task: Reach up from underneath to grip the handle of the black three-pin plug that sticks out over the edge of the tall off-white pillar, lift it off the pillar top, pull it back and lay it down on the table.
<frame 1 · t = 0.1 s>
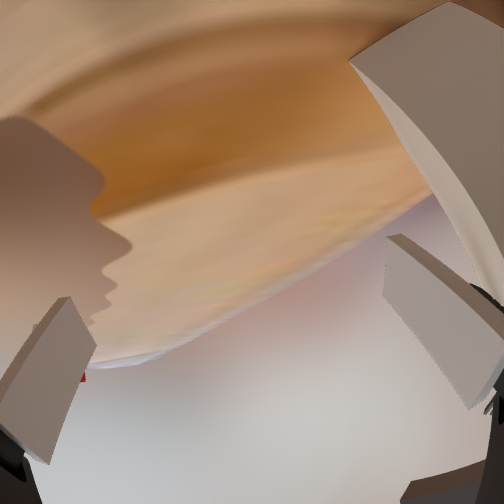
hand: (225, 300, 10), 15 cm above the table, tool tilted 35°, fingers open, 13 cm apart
pillar: (431, 84, 17), on the table
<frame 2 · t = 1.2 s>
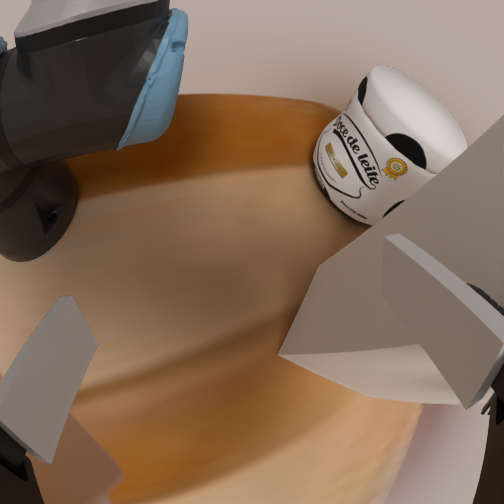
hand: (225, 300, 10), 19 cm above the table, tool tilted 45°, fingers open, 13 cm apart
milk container: (354, 184, 41), on the table
pillar: (346, 334, 31), on the table
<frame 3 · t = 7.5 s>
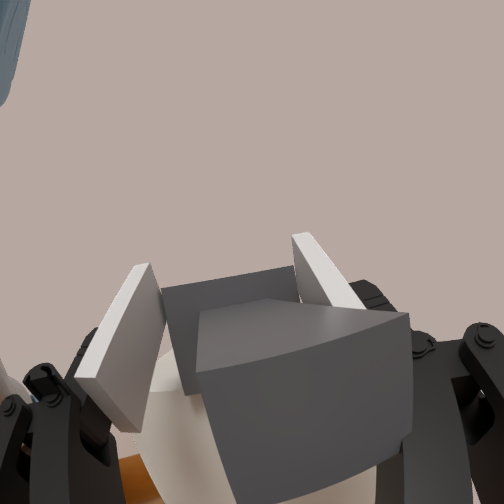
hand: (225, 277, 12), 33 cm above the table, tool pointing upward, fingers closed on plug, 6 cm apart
plug: (249, 384, 12), point 28 cm above the table, touching gripper
when the fingers open (11 cm above the table, at t = 16.0 s): plug drops 7 cm, on the table.
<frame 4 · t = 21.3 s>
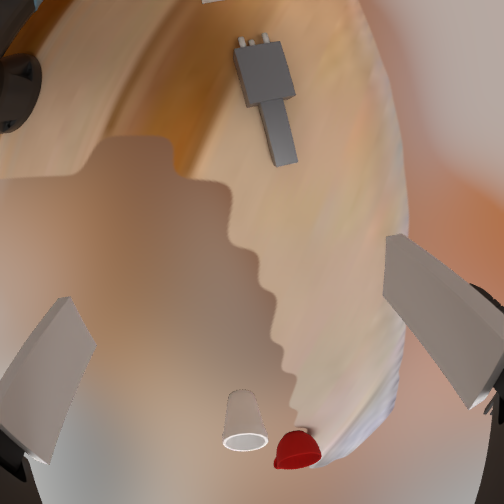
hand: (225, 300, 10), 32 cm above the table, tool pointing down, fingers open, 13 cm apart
foam cup: (241, 396, 59), on the table
plug: (267, 103, 35), on the table
ceramic cup: (289, 437, 71), on the table
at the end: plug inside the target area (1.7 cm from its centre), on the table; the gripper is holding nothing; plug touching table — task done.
